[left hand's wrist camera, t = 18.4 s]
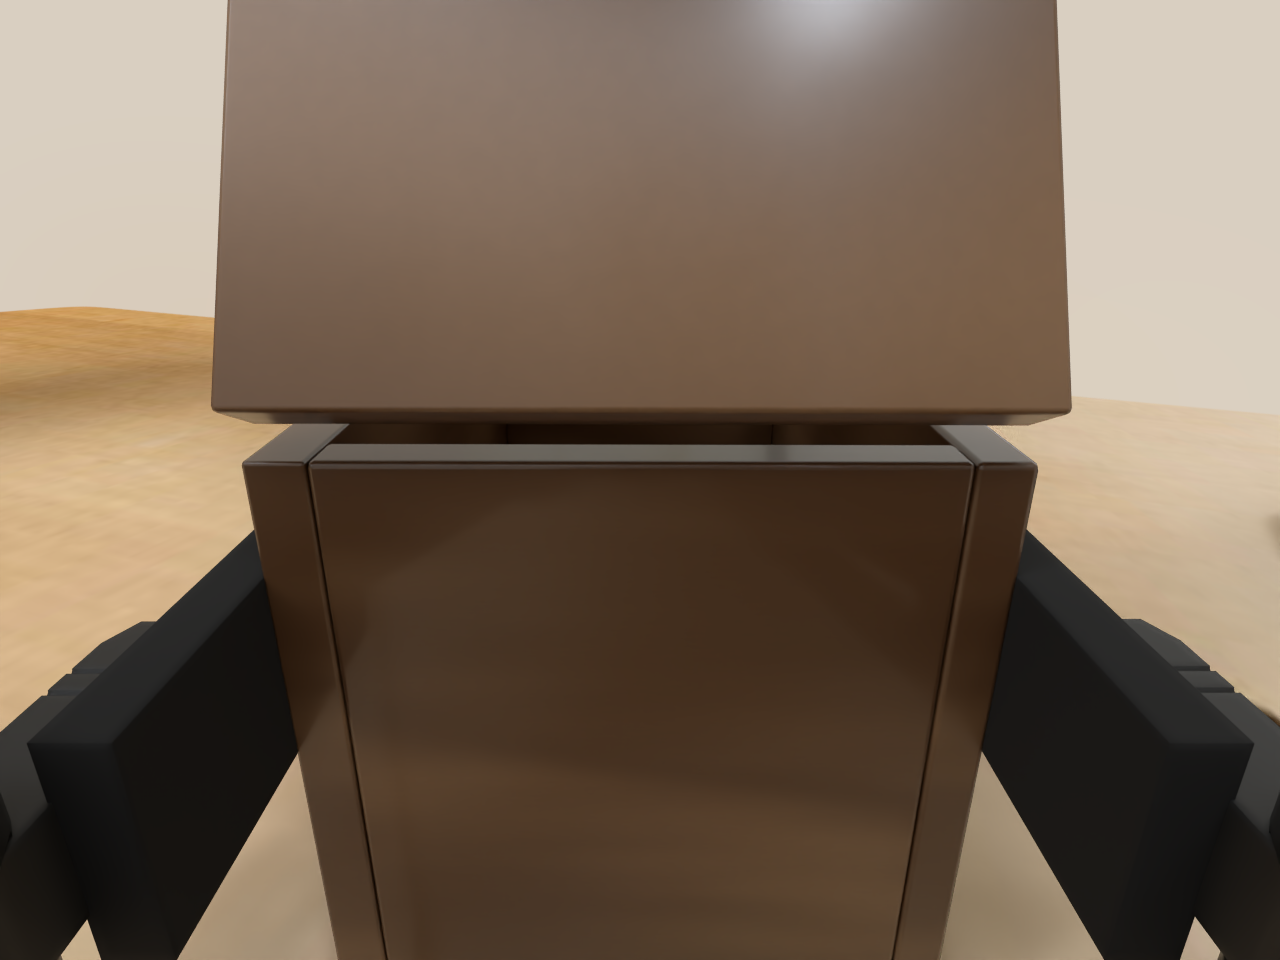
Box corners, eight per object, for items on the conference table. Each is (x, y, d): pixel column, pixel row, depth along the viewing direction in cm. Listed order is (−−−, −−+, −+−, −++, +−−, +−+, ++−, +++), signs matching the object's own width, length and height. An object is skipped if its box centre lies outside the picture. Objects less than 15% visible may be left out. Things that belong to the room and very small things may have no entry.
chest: (497, 585, 26) (475, 285, 23) (781, 585, 26) (804, 286, 23) (349, 1026, 13) (239, 462, 9) (928, 1026, 13) (1043, 463, 9)
